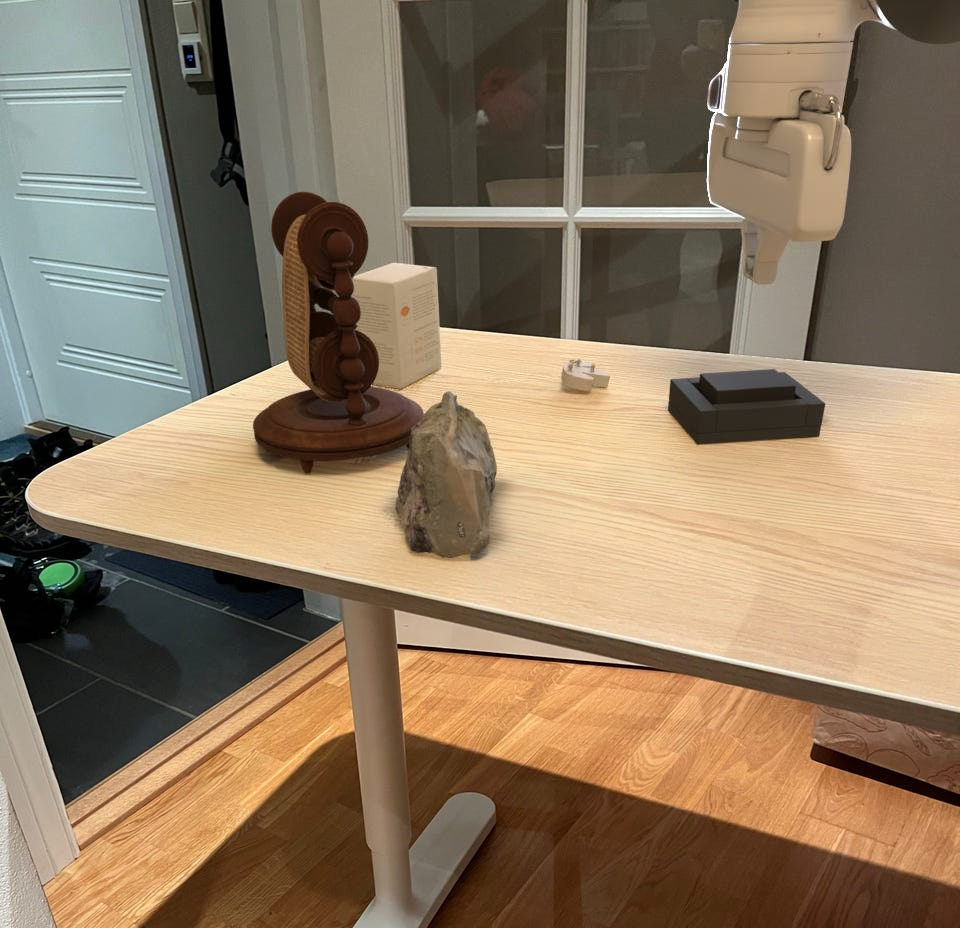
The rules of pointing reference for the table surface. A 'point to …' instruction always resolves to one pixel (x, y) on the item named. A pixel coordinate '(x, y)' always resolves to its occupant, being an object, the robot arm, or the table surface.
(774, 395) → the black rectangular block
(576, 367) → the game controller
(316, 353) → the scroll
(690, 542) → the table surface
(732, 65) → the robot arm
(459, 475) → the mineral rock
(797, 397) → the socket pad
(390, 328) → the small box
